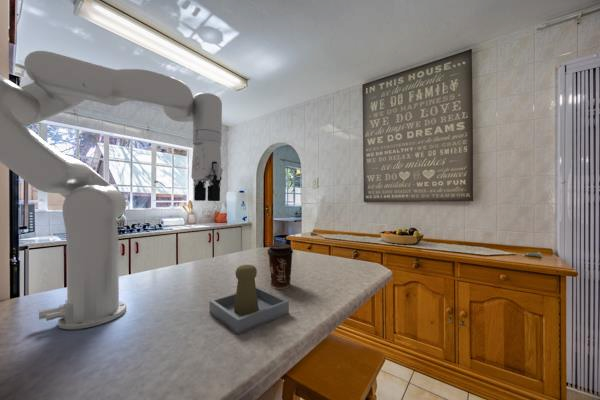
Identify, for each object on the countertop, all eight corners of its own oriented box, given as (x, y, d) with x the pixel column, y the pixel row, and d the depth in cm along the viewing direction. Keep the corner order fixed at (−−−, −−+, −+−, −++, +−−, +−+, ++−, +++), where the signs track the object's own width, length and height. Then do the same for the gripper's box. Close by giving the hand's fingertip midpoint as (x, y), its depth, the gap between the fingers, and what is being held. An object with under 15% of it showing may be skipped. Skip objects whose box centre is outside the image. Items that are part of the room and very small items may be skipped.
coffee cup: (264, 282, 84) (264, 244, 84) (288, 279, 87) (288, 242, 87) (271, 291, 76) (270, 249, 76) (296, 288, 79) (296, 247, 79)
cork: (255, 315, 59) (255, 269, 59) (230, 315, 59) (230, 268, 59) (260, 304, 65) (260, 262, 65) (237, 304, 65) (237, 262, 65)
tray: (238, 334, 52) (238, 320, 52) (209, 312, 62) (209, 300, 62) (288, 313, 62) (288, 301, 61) (257, 297, 72) (256, 286, 72)
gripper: (183, 142, 74) (182, 200, 74) (206, 131, 61) (205, 201, 61) (208, 146, 79) (207, 200, 79) (234, 136, 66) (233, 201, 66)
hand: (206, 200), depth 70 cm, fingers open, 9 cm apart
